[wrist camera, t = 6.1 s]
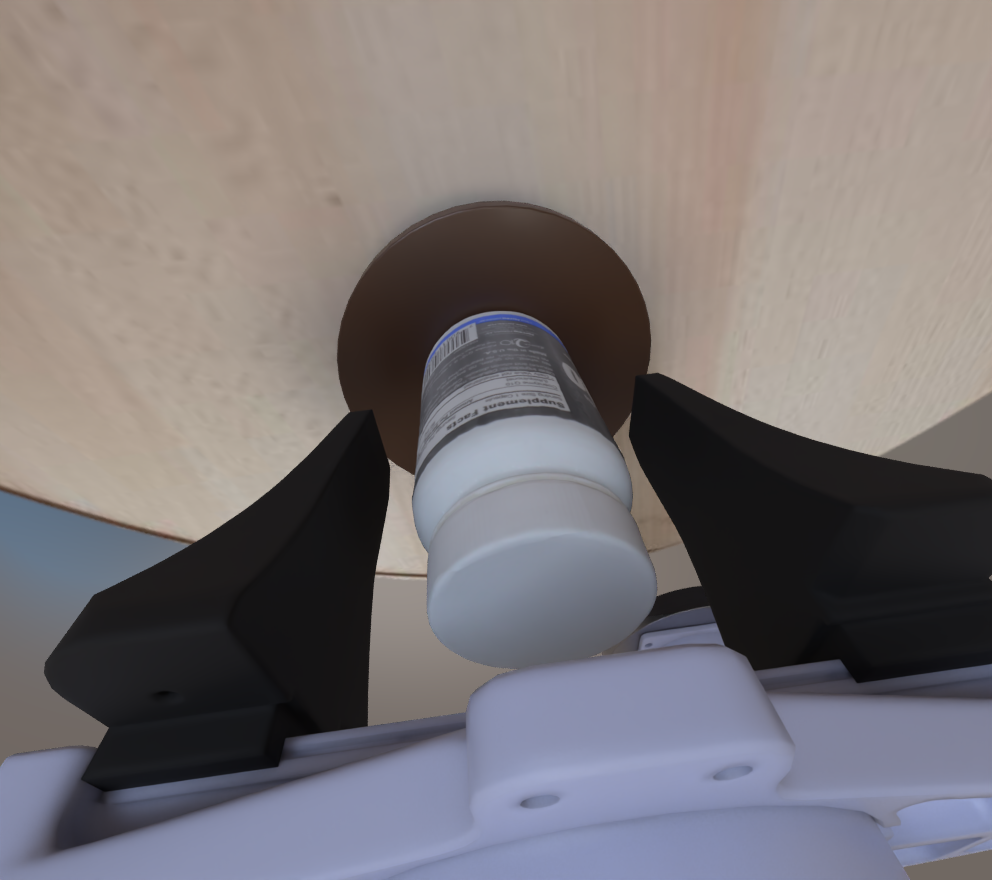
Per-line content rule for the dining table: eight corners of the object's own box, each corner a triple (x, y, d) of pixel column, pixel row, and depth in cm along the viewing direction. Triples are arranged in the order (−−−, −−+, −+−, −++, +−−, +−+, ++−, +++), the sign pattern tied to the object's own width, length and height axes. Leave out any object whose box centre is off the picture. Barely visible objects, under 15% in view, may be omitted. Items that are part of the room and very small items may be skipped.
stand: (615, 436, 19) (635, 474, 17) (388, 466, 19) (382, 507, 17) (639, 172, 13) (673, 183, 11) (309, 211, 13) (284, 229, 11)
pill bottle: (573, 423, 16) (671, 658, 9) (442, 448, 16) (441, 699, 9) (564, 291, 13) (699, 490, 6) (404, 322, 13) (361, 552, 6)
